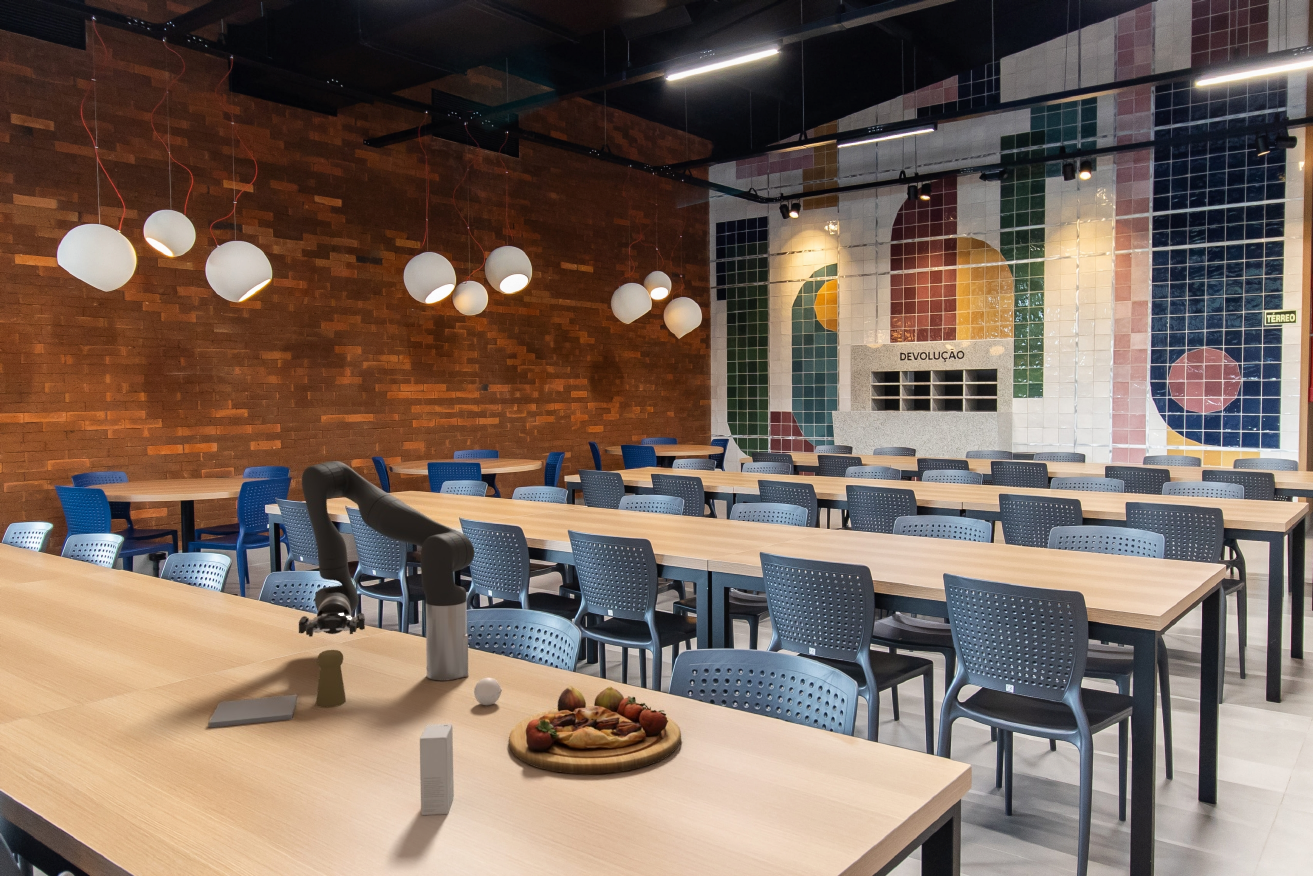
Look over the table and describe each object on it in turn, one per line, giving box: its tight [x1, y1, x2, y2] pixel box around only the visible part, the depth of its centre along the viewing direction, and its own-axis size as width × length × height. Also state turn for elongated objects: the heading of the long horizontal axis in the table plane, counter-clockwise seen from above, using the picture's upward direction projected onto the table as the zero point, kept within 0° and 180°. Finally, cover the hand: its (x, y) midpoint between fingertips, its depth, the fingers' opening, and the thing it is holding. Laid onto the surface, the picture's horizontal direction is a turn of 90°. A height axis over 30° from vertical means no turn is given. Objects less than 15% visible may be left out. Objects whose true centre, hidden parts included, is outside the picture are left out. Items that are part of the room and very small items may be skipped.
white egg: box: [473, 677, 502, 706], centre depth 186 cm, size 8×6×6 cm
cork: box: [315, 649, 347, 708], centre depth 186 cm, size 6×6×11 cm
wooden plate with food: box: [508, 686, 682, 775], centre depth 164 cm, size 32×32×8 cm
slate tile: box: [208, 694, 298, 728], centre depth 180 cm, size 15×13×1 cm
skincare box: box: [419, 723, 455, 816], centre depth 137 cm, size 6×4×12 cm
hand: (331, 631), depth 197 cm, fingers open, 8 cm apart
